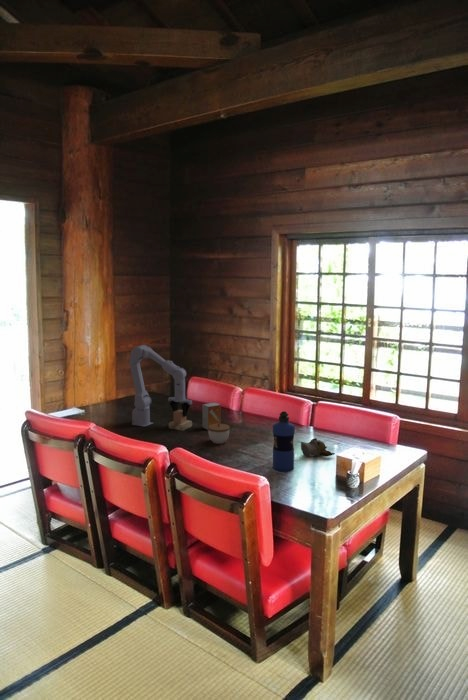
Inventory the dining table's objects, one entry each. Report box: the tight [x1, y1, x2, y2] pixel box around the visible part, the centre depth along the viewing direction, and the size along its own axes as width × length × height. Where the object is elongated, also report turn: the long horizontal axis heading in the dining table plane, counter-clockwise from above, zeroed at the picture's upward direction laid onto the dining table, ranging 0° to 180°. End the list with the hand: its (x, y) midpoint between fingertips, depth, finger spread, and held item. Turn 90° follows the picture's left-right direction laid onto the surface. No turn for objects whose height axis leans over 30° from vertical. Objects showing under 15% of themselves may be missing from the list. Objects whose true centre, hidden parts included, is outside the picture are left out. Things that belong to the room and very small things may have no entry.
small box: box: [201, 402, 222, 431], centre depth 287 cm, size 8×6×13 cm
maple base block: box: [168, 419, 193, 432], centre depth 288 cm, size 9×9×4 cm
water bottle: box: [272, 411, 296, 473], centre depth 227 cm, size 9×9×25 cm
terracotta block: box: [172, 409, 187, 424], centre depth 287 cm, size 5×5×6 cm
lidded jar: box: [207, 423, 230, 445], centre depth 263 cm, size 11×11×9 cm
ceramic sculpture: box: [300, 437, 335, 458], centre depth 244 cm, size 11×9×15 cm
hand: (180, 415), depth 287 cm, fingers open, 5 cm apart
